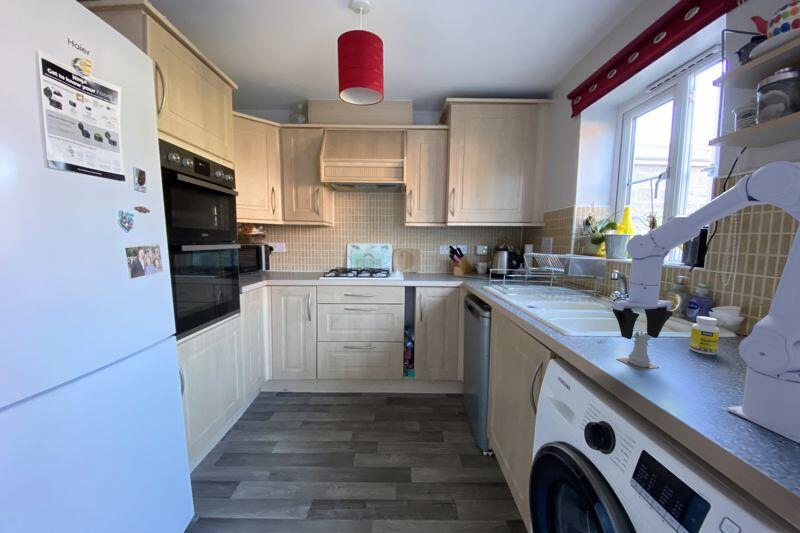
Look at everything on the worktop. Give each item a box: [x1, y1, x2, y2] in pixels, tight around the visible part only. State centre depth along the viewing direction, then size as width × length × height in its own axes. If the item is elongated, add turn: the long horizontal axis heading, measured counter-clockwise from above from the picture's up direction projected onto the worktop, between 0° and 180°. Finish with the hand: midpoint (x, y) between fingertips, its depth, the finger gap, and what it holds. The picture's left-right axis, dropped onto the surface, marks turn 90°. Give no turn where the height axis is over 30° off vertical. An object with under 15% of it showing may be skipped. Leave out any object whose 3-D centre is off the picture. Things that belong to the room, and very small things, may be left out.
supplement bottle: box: [688, 315, 720, 356], centre depth 82 cm, size 5×5×10 cm
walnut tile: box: [615, 357, 660, 370], centre depth 74 cm, size 6×6×1 cm
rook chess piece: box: [628, 331, 651, 367], centre depth 73 cm, size 4×4×8 cm
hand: (639, 337), depth 73 cm, fingers open, 7 cm apart
